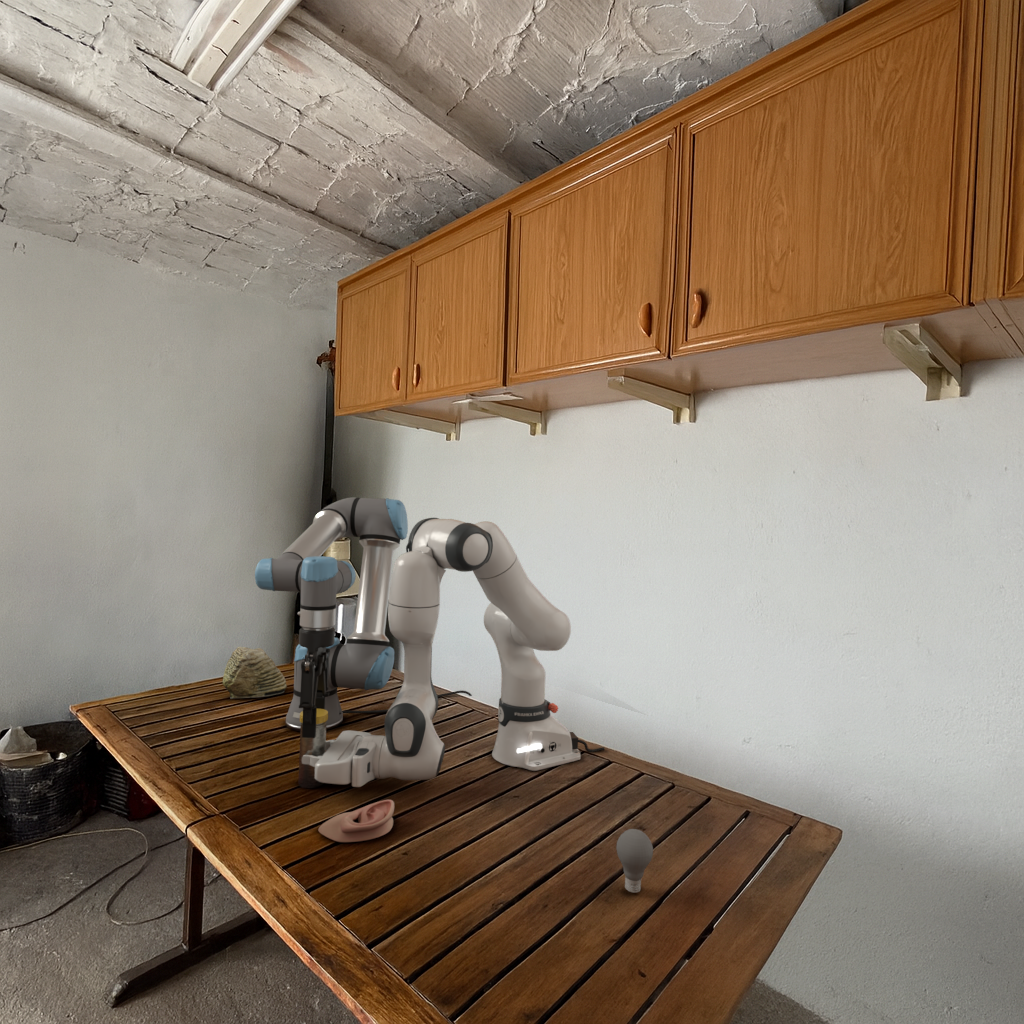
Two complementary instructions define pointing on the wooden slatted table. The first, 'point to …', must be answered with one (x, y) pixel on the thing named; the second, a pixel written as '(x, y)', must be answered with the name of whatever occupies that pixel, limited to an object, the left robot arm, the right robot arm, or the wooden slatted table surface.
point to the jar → (316, 749)
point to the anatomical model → (360, 823)
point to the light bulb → (634, 857)
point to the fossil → (252, 674)
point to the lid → (318, 716)
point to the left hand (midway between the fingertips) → (313, 731)
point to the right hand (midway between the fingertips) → (308, 752)
